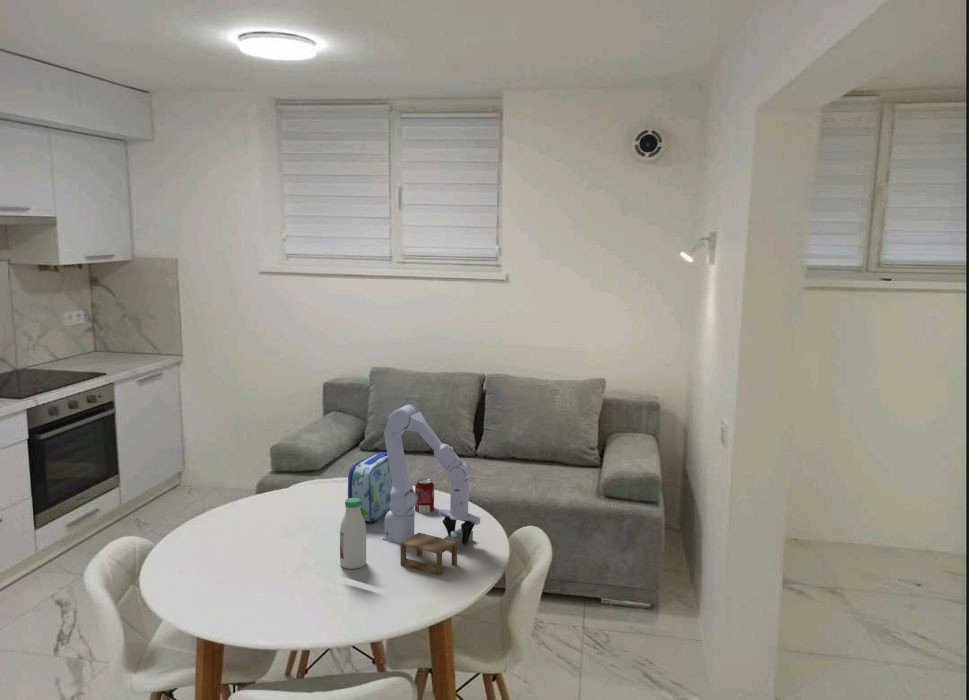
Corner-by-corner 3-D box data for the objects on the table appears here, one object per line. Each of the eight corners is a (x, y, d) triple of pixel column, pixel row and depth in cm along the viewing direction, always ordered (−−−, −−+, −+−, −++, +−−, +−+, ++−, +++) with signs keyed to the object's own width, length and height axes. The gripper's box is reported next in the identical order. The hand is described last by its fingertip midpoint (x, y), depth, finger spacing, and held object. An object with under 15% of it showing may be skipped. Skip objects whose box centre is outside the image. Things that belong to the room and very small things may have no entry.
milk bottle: (370, 561, 225) (370, 497, 222) (358, 571, 217) (358, 505, 215) (348, 557, 227) (348, 494, 225) (335, 567, 220) (334, 502, 217)
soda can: (430, 516, 264) (431, 484, 262) (412, 515, 265) (412, 482, 264) (436, 510, 270) (436, 478, 269) (418, 508, 272) (418, 477, 270)
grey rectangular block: (444, 549, 235) (444, 532, 234) (460, 539, 243) (461, 523, 243) (456, 552, 232) (456, 535, 232) (472, 542, 241) (472, 525, 240)
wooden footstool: (400, 564, 223) (400, 542, 222) (418, 554, 231) (418, 532, 230) (439, 575, 216) (440, 552, 215) (456, 564, 224) (457, 541, 223)
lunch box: (375, 500, 280) (375, 446, 278) (401, 503, 277) (402, 448, 275) (343, 523, 255) (343, 464, 253) (372, 527, 253) (372, 467, 250)
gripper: (433, 500, 236) (432, 541, 238) (472, 508, 229) (471, 550, 231) (445, 494, 242) (444, 534, 244) (483, 502, 235) (483, 543, 237)
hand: (458, 541), depth 238 cm, fingers closed on grey rectangular block, 4 cm apart
